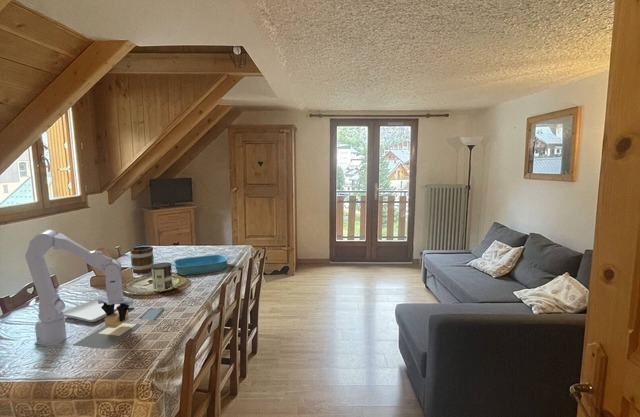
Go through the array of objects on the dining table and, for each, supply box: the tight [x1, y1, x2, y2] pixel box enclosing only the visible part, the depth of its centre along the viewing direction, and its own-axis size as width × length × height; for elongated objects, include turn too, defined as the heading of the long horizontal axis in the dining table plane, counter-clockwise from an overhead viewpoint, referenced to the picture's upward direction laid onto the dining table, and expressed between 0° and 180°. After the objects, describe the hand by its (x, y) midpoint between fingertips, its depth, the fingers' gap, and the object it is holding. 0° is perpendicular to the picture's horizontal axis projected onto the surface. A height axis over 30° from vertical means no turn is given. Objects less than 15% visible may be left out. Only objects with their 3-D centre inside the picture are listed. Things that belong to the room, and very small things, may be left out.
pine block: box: [104, 309, 129, 328], centre depth 143 cm, size 8×4×4 cm, turn 173°
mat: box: [72, 322, 143, 350], centre depth 139 cm, size 15×20×1 cm
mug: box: [129, 245, 155, 274], centre depth 226 cm, size 20×14×15 cm
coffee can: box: [151, 261, 173, 290], centre depth 190 cm, size 10×10×14 cm
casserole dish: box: [170, 254, 230, 276], centre depth 225 cm, size 37×22×7 cm, turn 117°
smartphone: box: [139, 307, 165, 321], centre depth 157 cm, size 7×1×15 cm
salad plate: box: [62, 296, 120, 323], centre depth 160 cm, size 21×21×3 cm
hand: (117, 320), depth 143 cm, fingers closed on pine block, 4 cm apart
